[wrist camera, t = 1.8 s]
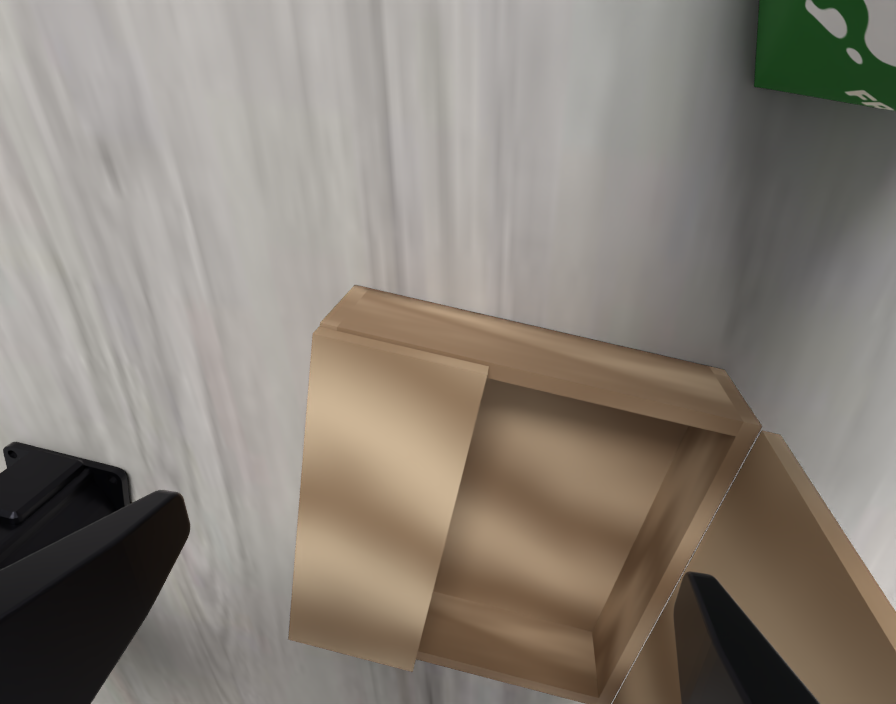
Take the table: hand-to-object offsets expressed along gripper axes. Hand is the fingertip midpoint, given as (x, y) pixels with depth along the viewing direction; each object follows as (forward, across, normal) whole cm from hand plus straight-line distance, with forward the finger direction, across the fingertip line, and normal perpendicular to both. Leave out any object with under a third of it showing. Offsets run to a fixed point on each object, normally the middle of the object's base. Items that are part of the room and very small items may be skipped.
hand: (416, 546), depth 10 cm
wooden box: (+13, 0, +9) cm, 16 cm away
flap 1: (+9, +4, +9) cm, 13 cm away
